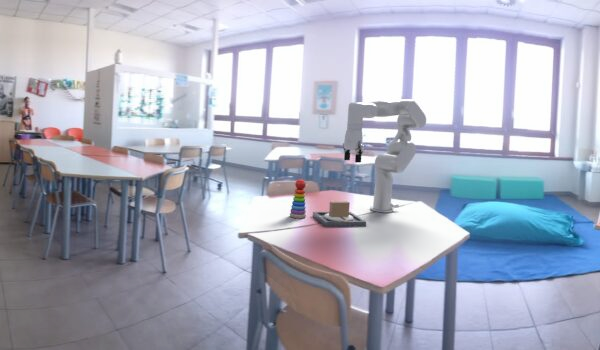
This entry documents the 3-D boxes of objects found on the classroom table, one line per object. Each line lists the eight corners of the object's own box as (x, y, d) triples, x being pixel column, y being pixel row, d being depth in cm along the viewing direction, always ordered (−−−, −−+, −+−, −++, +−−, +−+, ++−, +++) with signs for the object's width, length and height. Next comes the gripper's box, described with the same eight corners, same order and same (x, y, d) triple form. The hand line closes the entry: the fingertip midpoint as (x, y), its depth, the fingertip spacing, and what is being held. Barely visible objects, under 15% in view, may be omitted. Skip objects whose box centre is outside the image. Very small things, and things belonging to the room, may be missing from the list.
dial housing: (349, 215, 203) (350, 211, 203) (366, 226, 184) (366, 221, 184) (312, 216, 198) (312, 211, 197) (325, 226, 179) (325, 221, 178)
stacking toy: (294, 219, 189) (296, 180, 187) (287, 215, 196) (289, 178, 194) (308, 218, 193) (310, 180, 190) (301, 214, 200) (303, 177, 197)
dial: (319, 215, 195) (320, 199, 194) (345, 214, 199) (347, 198, 198) (330, 222, 182) (331, 205, 181) (358, 221, 186) (359, 204, 185)
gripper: (339, 126, 205) (337, 159, 207) (358, 127, 189) (356, 163, 192) (350, 127, 208) (348, 159, 210) (371, 128, 193) (368, 163, 195)
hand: (352, 161), depth 201 cm, fingers open, 9 cm apart
